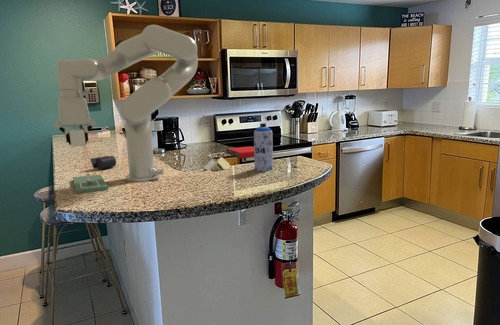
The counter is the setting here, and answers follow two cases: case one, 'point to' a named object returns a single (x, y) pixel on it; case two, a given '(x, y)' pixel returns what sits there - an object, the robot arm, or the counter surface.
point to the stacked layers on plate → (217, 164)
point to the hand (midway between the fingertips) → (77, 143)
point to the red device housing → (241, 152)
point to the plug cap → (77, 138)
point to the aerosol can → (263, 148)
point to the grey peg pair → (89, 179)
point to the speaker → (103, 162)
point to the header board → (83, 186)
